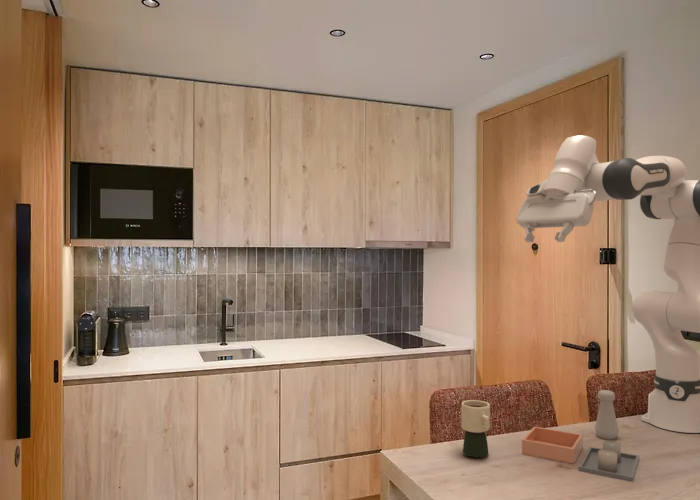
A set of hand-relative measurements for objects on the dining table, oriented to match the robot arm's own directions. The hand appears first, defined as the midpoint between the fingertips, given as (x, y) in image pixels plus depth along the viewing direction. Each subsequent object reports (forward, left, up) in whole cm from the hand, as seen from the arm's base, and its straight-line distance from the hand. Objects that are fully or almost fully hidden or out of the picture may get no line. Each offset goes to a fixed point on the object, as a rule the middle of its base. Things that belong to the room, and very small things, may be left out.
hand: (543, 241), depth 133 cm
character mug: (+5, -15, -54) cm, 56 cm away
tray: (-5, +14, -54) cm, 56 cm away
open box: (-7, +1, -54) cm, 54 cm away
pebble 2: (-2, +14, -53) cm, 55 cm away
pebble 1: (-9, +14, -53) cm, 56 cm away
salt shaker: (-26, +11, -54) cm, 61 cm away
